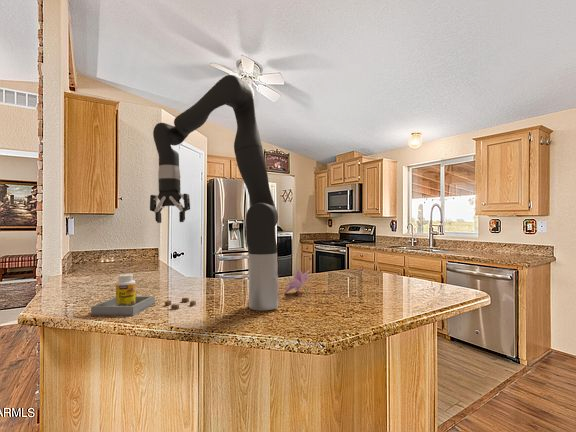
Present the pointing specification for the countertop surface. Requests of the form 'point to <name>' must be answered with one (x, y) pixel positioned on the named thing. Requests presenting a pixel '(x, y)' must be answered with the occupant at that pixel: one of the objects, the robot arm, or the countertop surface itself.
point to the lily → (298, 281)
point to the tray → (122, 307)
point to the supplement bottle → (125, 290)
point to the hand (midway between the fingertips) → (170, 222)
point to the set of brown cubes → (176, 306)
